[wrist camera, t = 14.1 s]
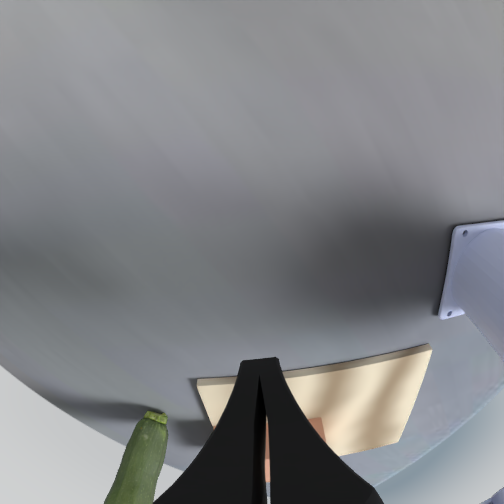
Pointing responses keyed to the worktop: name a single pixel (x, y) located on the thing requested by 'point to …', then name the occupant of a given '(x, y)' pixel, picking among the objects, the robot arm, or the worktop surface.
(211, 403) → the board
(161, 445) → the vegetable
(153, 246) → the worktop surface
